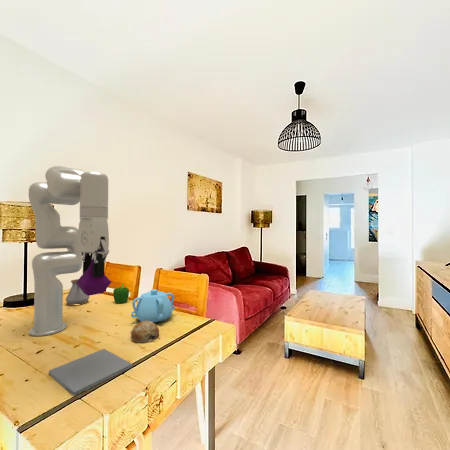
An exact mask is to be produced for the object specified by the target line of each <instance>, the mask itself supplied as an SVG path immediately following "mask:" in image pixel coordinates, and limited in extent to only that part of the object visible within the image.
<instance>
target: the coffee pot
mask: <svg viewBox="0 0 450 450" xmlns="http://www.w3.org/2000/svg"><path fill="white" fill-rule="evenodd" d="M78 279H79V278H76V279H72V280H70V283H71V287H70V290H69V292H68V294H67V296H66V298H65V302H66V304H69V305H70V304H81V305H83V304H82V303H84V304H86V303H87V302H88V301H89V299H90V296H91V295H89V296H88V295H86V294H84V293H83V291H82V290H81V289H80V287H79V286H78V285H77V283H76V282H77V281H78ZM85 302H86V303H85Z"/></svg>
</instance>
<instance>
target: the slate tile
mask: <svg viewBox="0 0 450 450" xmlns="http://www.w3.org/2000/svg"><path fill="white" fill-rule="evenodd" d="M132 368H133V363H131V362H130V361H128V360H126V359H124V358H123V357H120V356H118V355H116V353H115V354H114V353H113V352H111V351H109V350H108V349H106V348H102V349H100V350H97V351H95V352H92V353H90V354H87V355H85V356H82V357H79V358H77V359H74V360H72V361H70V362H67V363H64V364H62V365H59V366H57V367H55V368H52V369H50V370H48V375H49V376H50V377H52V378H53V380H55V381H56V382H57V383H58V384H60V385H61V387H63V388H64V389H65V390H66V391H67V390H68V391H67V392H68V393H70V394H71V395H72V394H73V395H74V396H73V395H72V396H73V397H76V396H78V395H80V394H82V393H84V392H86V391H87V390H90V389H92V388H94V387H95V385H96V386H98V385H100V384H102V383H104V382H105V380H106V381H108V380H110V379H112V378H114V377H116V376H118V375H120V374H122V373H123V372H126V371H127V370H129V369H132ZM113 376H114V377H113ZM111 377H112V378H111ZM109 378H110V379H109ZM107 379H108V380H107ZM103 381H104V382H103ZM99 383H100V384H99ZM97 384H98V385H97ZM93 386H94V387H93ZM91 387H92V388H91ZM83 391H84V392H83ZM81 392H82V393H81ZM77 394H78V395H77ZM75 395H76V396H75Z"/></svg>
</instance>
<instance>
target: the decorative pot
mask: <svg viewBox="0 0 450 450" xmlns="http://www.w3.org/2000/svg"><path fill="white" fill-rule="evenodd" d="M169 296H171V298H169ZM170 299H171V300H170ZM174 300H175V295H174V294H173V293H172V292H164V291H158V289H154V288H153V289H150V291H147V292H145V293H142V294H140V296H138V297H136V298H134V299H132V302H131V303H132V304H131V305H132V308H133V310H134V311H132V312H131V314H130V316H131V318H134V319H135V318H137V319H138V321H139V322H142V321H150V322H153V323H158V322H165V321H167V320H168V319H169V318H170V317H171V315H172V314H173V311H174V310H175V308H176V307H175V305H174ZM136 302H137V303H136Z"/></svg>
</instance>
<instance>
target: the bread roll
mask: <svg viewBox="0 0 450 450" xmlns="http://www.w3.org/2000/svg"><path fill="white" fill-rule="evenodd" d="M159 335H160V329H159V327H158V325H156V323H155V322H150V321H142V322H141V321H139V322H138V323H136V324H135V325H134V326H133V328H132V329H131V331H130V339H131V340H132V341H133V342H134V343H140V344H144V343H145V344H146V343H150V342H152V341H154V340H155V339H157V338H158V337H159Z"/></svg>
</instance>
